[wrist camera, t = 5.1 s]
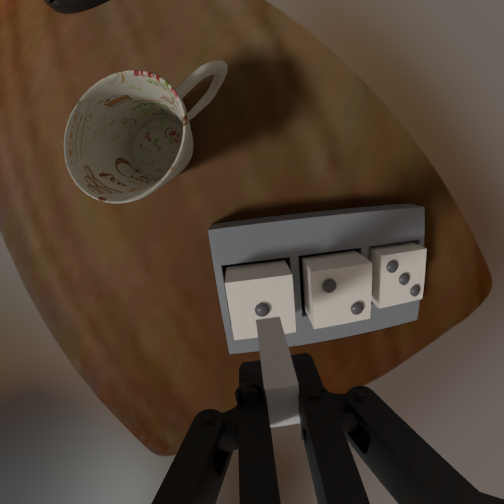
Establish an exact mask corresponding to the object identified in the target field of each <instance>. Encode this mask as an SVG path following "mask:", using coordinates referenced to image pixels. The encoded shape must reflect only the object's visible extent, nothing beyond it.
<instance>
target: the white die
mask: <svg viewBox="0 0 504 504" xmlns="http://www.w3.org/2000/svg"><path fill="white" fill-rule="evenodd" d="M302 272H303V288H304V307H305V311H306V313H307V315H308V317H309V319H310V321H311V324H312V326H313V328H314V329H319V328H324V327H330V326H335V325H341V324H346V323H351V322H356V321H361V320H366V319H370V312H371V293H372V262H371V261H369V260H368V259H366V258H365V257H363V256H362V255H361V254H359V253H358V252H356V251H355V250H354V251H347V252H339V253H332V254H324V255H317V256H309V257H302Z"/></svg>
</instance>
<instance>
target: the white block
mask: <svg viewBox="0 0 504 504" xmlns="http://www.w3.org/2000/svg"><path fill="white" fill-rule="evenodd" d="M225 289H226V295H227V301H228V307H229V313H230V319H231V325H232V330H233V336H234V340H241V339H250V338H258V334H257V325H256V320H258V319H265V318H272V317H280V319H281V323H282V327H283V330H284V334H287V333H294V332H296V322H295V306H294V291H293V277H292V273H291V271H290V269H289V267H288V265H287V263H286V262H285V260H279V261H271V262H263V263H255V264H247V265H239V266H231V267H227V268H226V276H225Z"/></svg>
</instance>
